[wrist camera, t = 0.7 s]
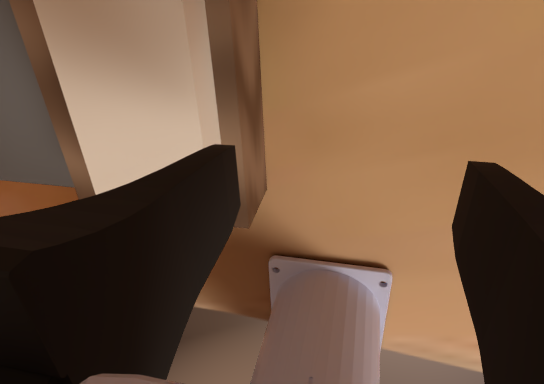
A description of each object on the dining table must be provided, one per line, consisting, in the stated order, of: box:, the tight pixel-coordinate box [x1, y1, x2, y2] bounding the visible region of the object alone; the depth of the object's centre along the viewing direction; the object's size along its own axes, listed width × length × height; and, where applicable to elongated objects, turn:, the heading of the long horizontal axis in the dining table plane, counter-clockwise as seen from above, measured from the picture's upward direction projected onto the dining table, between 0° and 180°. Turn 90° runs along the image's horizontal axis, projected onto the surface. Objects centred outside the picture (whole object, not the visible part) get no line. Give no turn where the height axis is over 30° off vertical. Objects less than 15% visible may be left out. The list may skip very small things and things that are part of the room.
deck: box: [9, 0, 267, 229], centre depth 20 cm, size 14×10×4 cm
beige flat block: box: [33, 0, 221, 195], centre depth 17 cm, size 9×6×2 cm, turn 2°
